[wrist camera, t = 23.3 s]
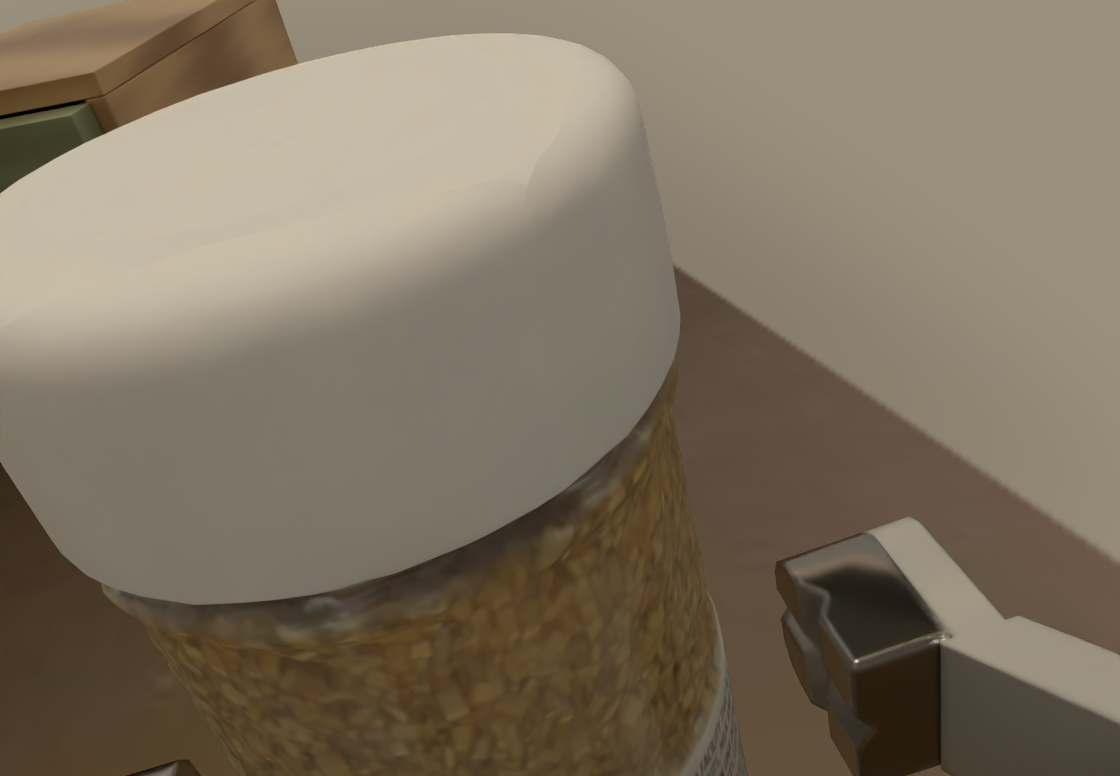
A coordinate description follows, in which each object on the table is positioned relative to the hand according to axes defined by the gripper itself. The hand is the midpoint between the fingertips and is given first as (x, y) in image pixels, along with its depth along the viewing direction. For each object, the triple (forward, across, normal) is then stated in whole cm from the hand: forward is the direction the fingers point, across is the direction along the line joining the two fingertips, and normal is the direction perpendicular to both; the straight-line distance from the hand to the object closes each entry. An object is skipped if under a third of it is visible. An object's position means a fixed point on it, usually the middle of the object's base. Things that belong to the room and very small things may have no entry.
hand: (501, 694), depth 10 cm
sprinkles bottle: (-1, 0, +7) cm, 7 cm away
